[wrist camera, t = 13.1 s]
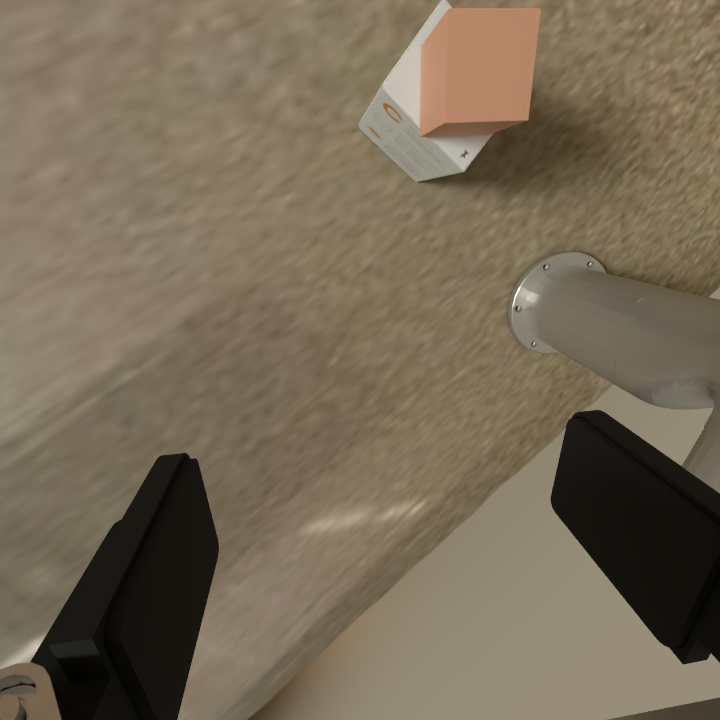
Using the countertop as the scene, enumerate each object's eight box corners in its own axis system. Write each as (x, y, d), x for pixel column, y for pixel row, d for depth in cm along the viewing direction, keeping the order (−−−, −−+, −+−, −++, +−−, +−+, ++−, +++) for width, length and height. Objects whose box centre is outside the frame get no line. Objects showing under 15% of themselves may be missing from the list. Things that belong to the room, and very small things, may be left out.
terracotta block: (496, 45, 24) (540, 8, 19) (489, 134, 26) (528, 120, 21) (421, 45, 23) (448, 8, 19) (419, 137, 25) (444, 122, 21)
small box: (457, 129, 37) (527, 95, 25) (416, 184, 39) (464, 175, 27) (397, 64, 34) (445, -8, 23) (355, 126, 36) (379, 88, 24)
